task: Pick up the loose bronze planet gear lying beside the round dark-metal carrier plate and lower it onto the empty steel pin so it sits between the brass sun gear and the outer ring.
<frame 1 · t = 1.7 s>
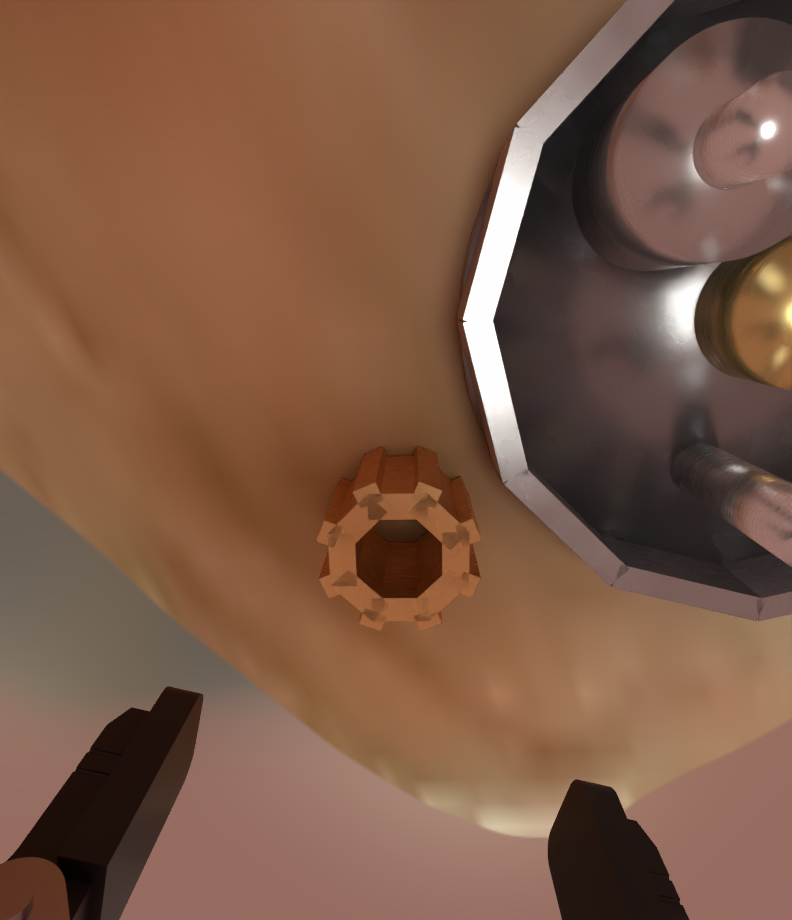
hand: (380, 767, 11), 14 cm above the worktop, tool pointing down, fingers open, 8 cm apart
planet gear: (401, 510, 25), on the worktop
carrier: (744, 311, 22), on the worktop
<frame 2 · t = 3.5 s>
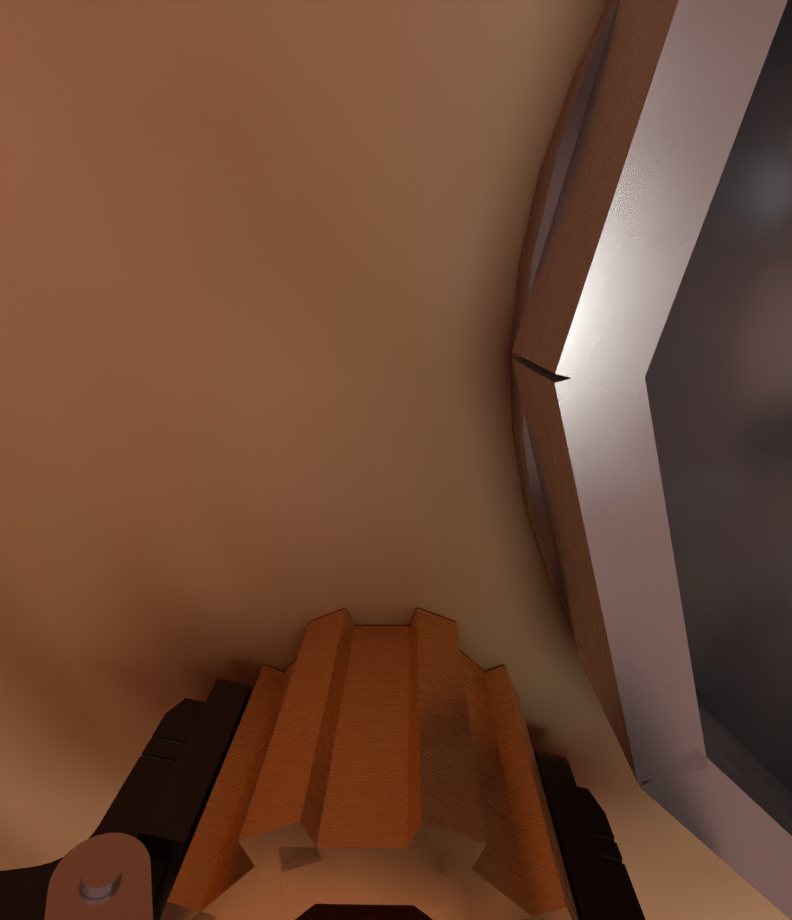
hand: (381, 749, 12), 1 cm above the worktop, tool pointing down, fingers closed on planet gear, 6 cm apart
planet gear: (384, 724, 13), on the worktop, touching gripper
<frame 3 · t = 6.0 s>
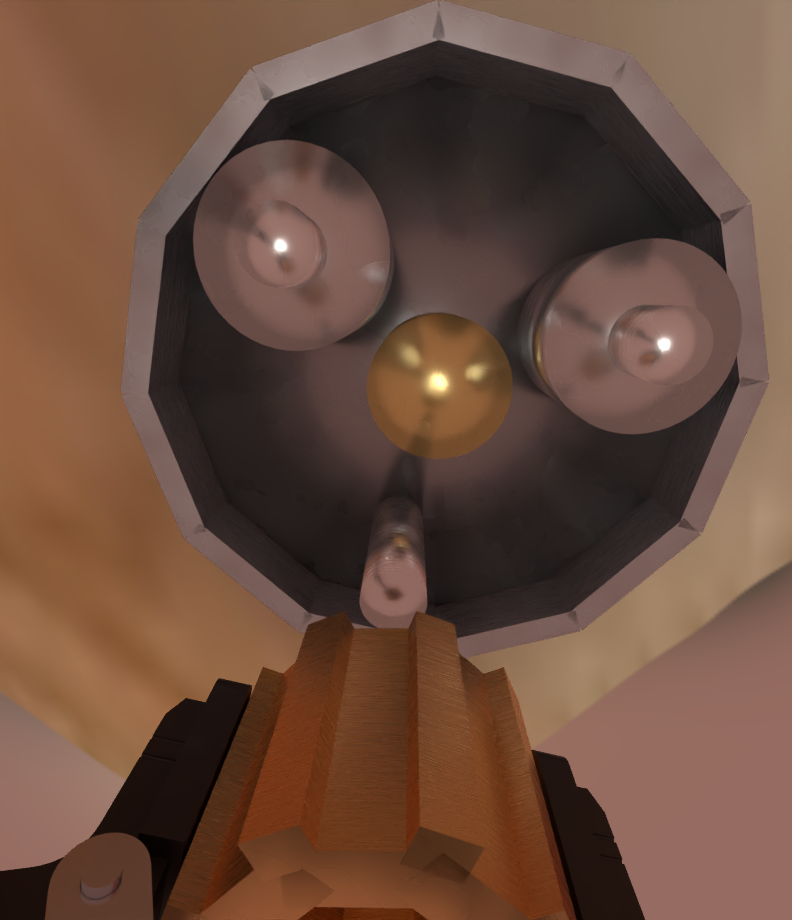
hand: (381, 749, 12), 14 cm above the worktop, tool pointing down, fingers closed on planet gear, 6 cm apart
planet gear: (384, 726, 13), point 13 cm above the worktop, touching gripper
carrier: (434, 373, 24), on the worktop
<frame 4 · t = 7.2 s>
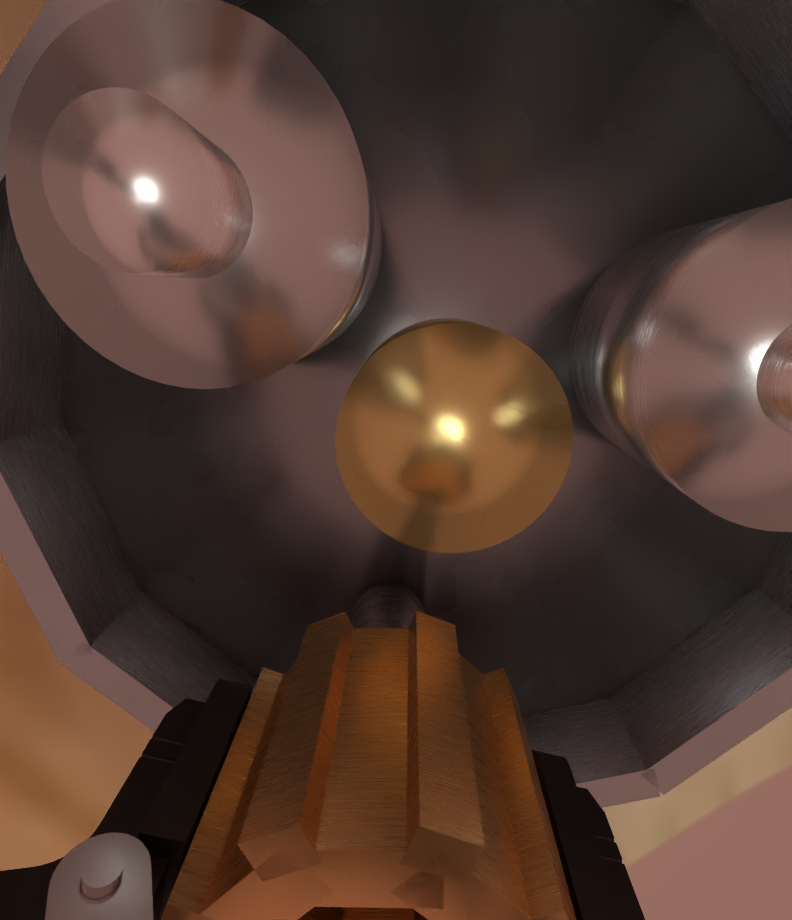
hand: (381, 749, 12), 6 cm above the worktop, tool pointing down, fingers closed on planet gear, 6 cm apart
planet gear: (384, 726, 13), point 6 cm above the worktop, touching gripper
carrier: (441, 407, 16), on the worktop
when the fingers open (3 cm above the worktop, at t = 8.3 s): planet gear drops 1 cm, resting on carrier.
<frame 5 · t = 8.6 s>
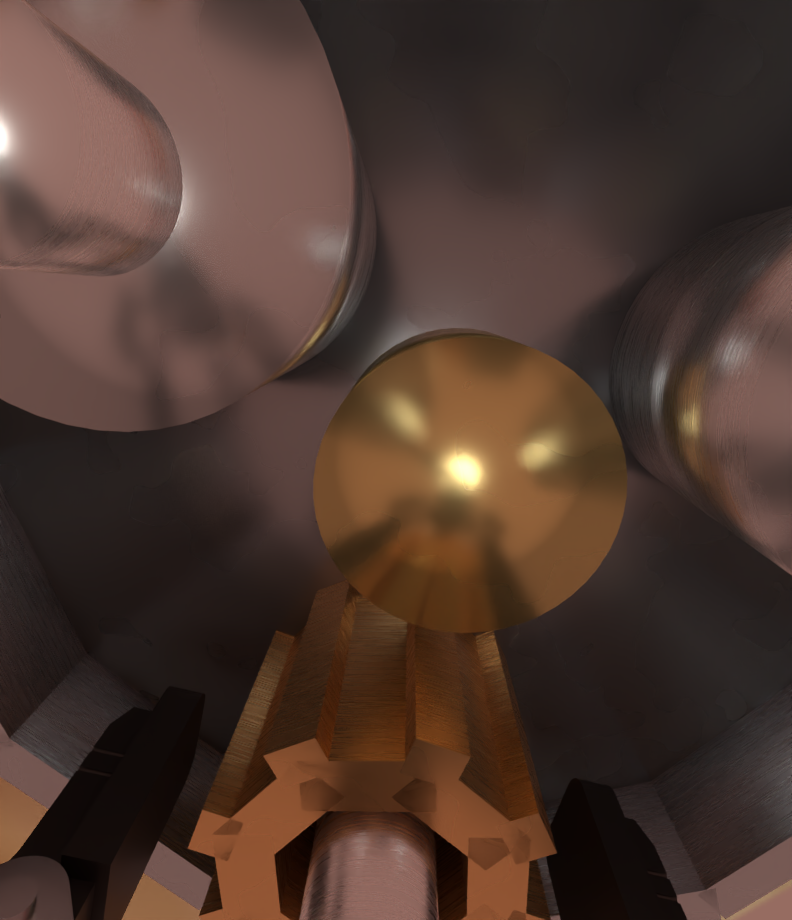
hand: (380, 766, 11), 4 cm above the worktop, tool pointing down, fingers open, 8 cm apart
planet gear: (385, 684, 14), point 1 cm above the worktop, touching carrier
carrier: (450, 434, 13), on the worktop
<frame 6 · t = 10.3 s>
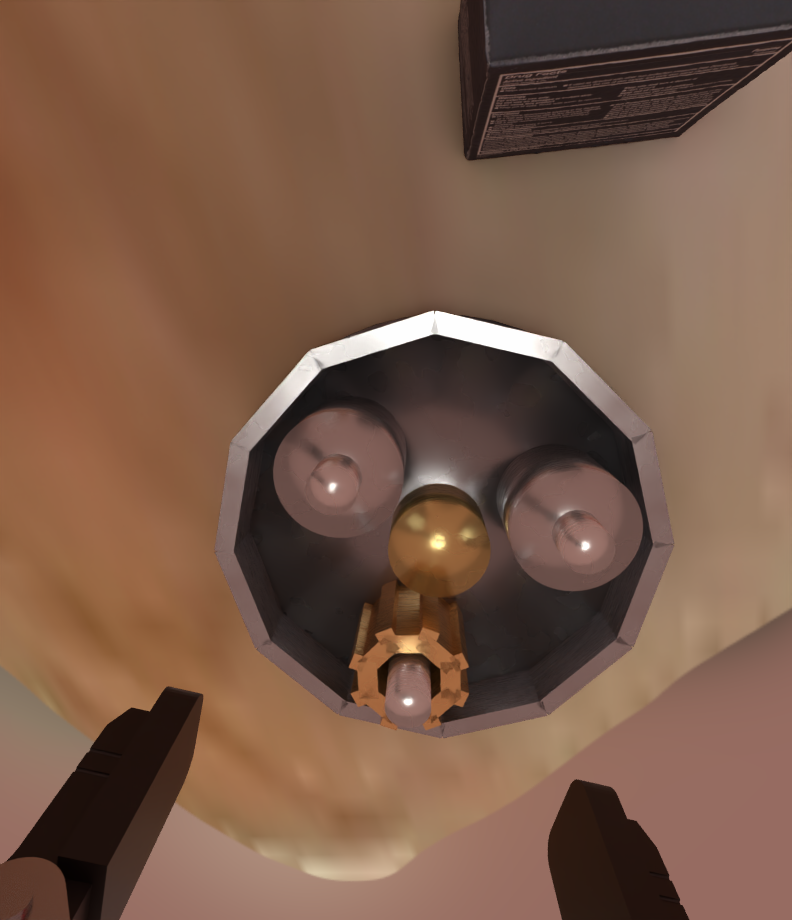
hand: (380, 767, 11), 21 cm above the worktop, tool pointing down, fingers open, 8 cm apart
small box: (569, 77, 26), on the worktop
planet gear: (411, 625, 32), point 1 cm above the worktop, touching carrier
carrier: (436, 519, 32), on the worktop
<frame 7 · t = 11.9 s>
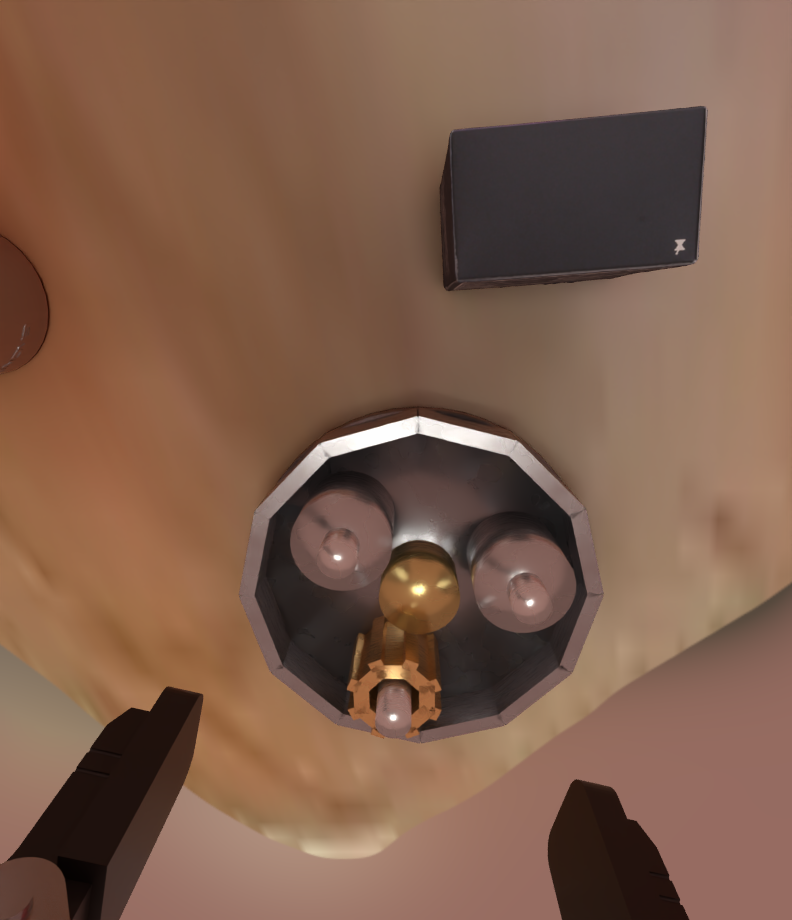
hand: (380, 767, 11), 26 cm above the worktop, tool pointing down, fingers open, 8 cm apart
small box: (527, 229, 33), on the worktop
planet gear: (396, 651, 40), point 1 cm above the worktop, touching carrier
carrier: (418, 566, 39), on the worktop
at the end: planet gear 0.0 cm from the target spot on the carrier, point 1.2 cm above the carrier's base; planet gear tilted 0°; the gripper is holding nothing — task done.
